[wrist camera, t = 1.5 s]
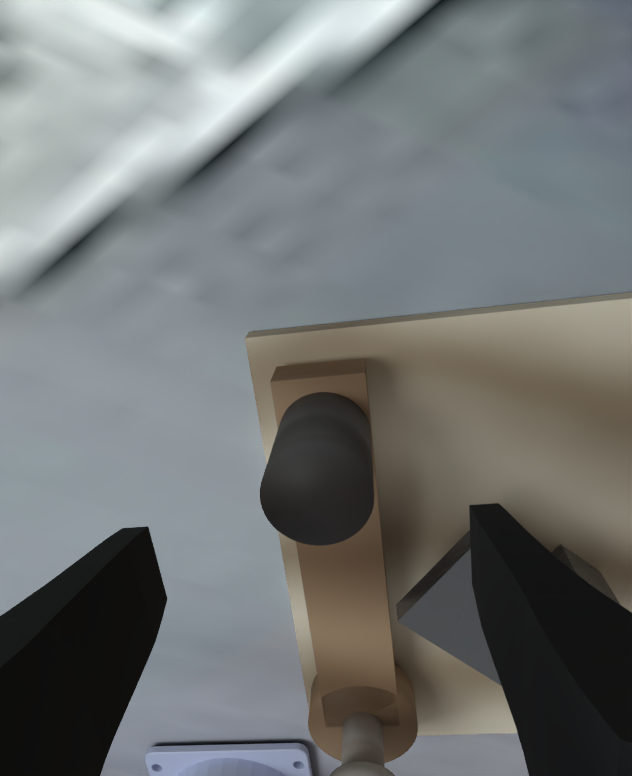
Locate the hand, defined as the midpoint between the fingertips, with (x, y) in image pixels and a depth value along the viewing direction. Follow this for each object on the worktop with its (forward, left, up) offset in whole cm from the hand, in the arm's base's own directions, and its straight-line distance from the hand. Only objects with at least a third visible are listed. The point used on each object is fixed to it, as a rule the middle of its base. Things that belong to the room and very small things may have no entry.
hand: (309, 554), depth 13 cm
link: (-7, 0, -8) cm, 10 cm away
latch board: (-7, -4, -9) cm, 12 cm away
